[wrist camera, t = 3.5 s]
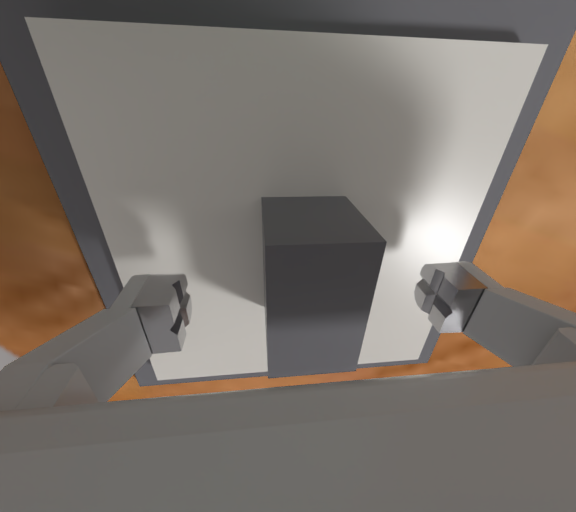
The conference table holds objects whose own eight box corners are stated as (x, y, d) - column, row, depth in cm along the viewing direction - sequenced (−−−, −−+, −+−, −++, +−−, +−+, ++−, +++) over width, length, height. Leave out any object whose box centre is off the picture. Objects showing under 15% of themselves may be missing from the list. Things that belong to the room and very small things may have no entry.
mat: (580, -9, 8) (594, -14, 8) (424, 357, 17) (427, 362, 17) (-38, -57, 6) (-54, -65, 6) (142, 379, 15) (139, 386, 15)
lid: (524, 48, 9) (728, 13, 5) (411, 347, 16) (458, 424, 12) (46, 24, 7) (-178, -52, 3) (162, 366, 14) (130, 461, 11)
